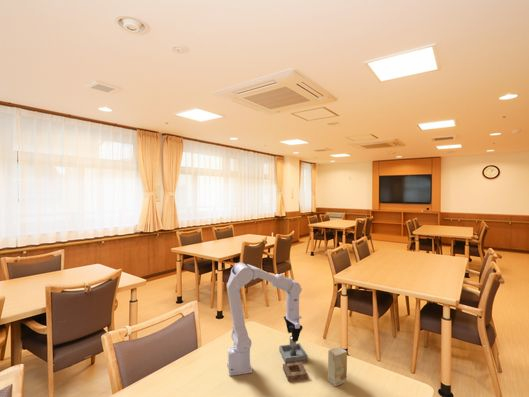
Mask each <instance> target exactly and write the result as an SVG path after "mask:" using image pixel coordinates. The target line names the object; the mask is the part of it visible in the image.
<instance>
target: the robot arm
mask: <svg viewBox="0 0 529 397" xmlns="http://www.w3.org/2000/svg"><path fill="white" fill-rule="evenodd" d="M256 279H261V280H264V281H267V282H269V283H271V285H272V287H274V288H276V289H278V290H281V291H284V292H286V294H285V295H286V298H285V299H286V300H285V301H286V302H285V303H286V305H285V306H286V308H285V309H286V310H285V315H284V316H283V319H284V321H285V325H286V330H287V333H288V334H291V336H292V339H293V342H296V343H297V342H298V341H299V338H300V334H301V332H302V330H303V328H304V327H303V325H302V324H301V323H300V319H302V318H303V317H302V315H300V294H301V292H302V289H303V288H302V287H301V285H300V283H299V282H297V281H296V280H294V279H293V278H291V277H289V278H288V277H286V276H285V275H284V274H283V273H280V274H279V273H276V274H272V273H269V272H267V271H265V270H263V269H262V268H259V267H256V266H254V265H252V264H248V263H246V264H245V263H244V262H241V261H240V262H237V263H235V264H234V266H232V268H231V270H230V274H229V278H228V280H227V283H226V293H227V296H228V297H227V298H228V303H229V308H230V314H231V321H232V327H231V328H232V330H231V336H230V337H231V339H232V341H233V344H232V347H230V348H227V362H226V363H227V365H226V366H227V369H228V370H227V371H228V375H229V376H238V375H244V374H251V373H253V370H252V366H251V365H252V364H251V350H250V349H251V348H252V339H251V338H250V337H249V334H248V330H247V327H246V322H245V317H244V310H243V303H242V299H241V292H240V290H241V289H242V288H243V287H244V286H246V285H247V284H248V283H250V282H251V281H252V280H253V281H254V280H256Z"/></svg>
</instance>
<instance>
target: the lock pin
mask: <svg viewBox="0 0 529 397" xmlns="http://www.w3.org/2000/svg"><path fill="white" fill-rule="evenodd" d="M289 344H290V356H296V344H297V341H296V342H293V339H292V335H290V336H289Z"/></svg>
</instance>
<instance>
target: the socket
mask: <svg viewBox="0 0 529 397" xmlns="http://www.w3.org/2000/svg"><path fill="white" fill-rule="evenodd" d="M282 370H283V373H284V375H285V377H286V380H287V382H291V381H299V380H306V379H308V372H307V370H306V368H305V367H304V364H303V362H295V363H287V364H285V363H282ZM297 370H298V371H297ZM291 371H294V372H291ZM295 371H296V372H295Z"/></svg>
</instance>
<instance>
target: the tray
mask: <svg viewBox="0 0 529 397" xmlns="http://www.w3.org/2000/svg"><path fill="white" fill-rule="evenodd" d="M278 348H279V354H280V355H281V357H282V360H283V362H284V364H287V363H295V362H301V363H303V362H308V354H307V352H306V351H305V348H304V347H303V346H302V345H301V343H297V342H296V356H290V343H289V344H283V345H279V347H278Z"/></svg>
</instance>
